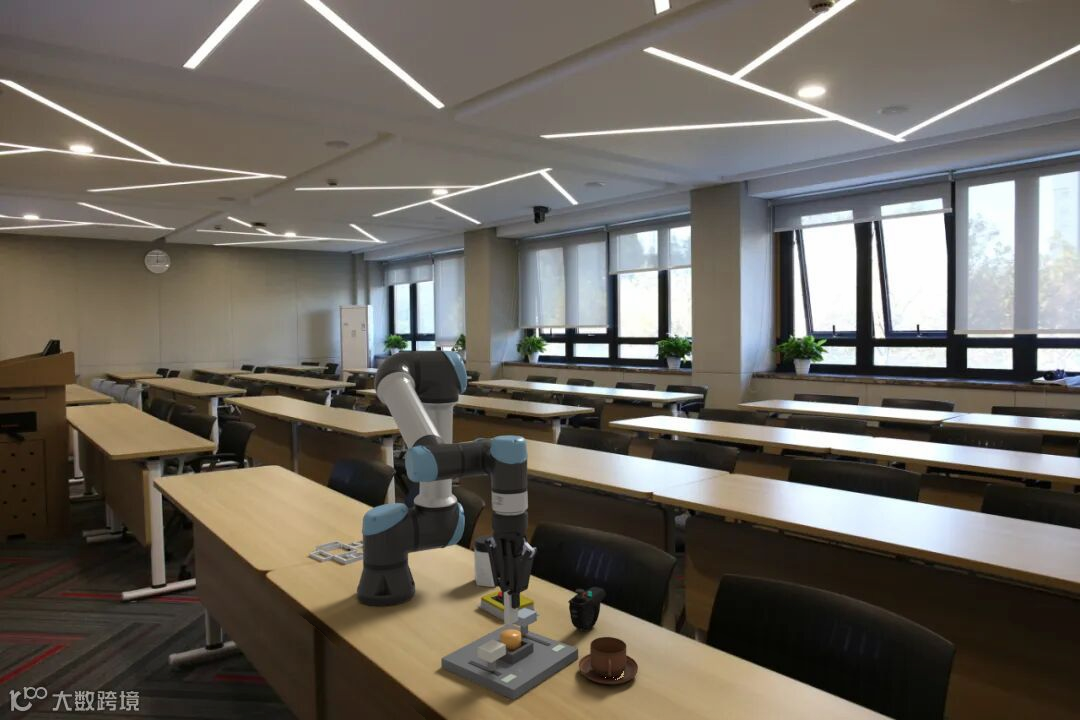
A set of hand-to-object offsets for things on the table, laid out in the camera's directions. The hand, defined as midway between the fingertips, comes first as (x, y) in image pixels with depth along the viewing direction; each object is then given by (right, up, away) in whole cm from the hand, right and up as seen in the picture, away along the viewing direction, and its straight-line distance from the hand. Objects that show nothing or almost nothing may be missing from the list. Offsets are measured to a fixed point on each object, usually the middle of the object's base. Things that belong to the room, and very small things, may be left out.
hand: (511, 621), depth 143 cm
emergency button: (-2, -8, +28) cm, 29 cm away
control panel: (0, -9, +1) cm, 9 cm away
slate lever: (+3, -7, +9) cm, 11 cm away
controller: (+17, -8, +18) cm, 26 cm away
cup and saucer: (+20, -10, -4) cm, 22 cm away
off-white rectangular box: (-4, -7, -7) cm, 11 cm away
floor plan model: (-57, -7, +69) cm, 90 cm away
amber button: (0, -5, +1) cm, 5 cm away
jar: (-8, -7, +47) cm, 48 cm away
